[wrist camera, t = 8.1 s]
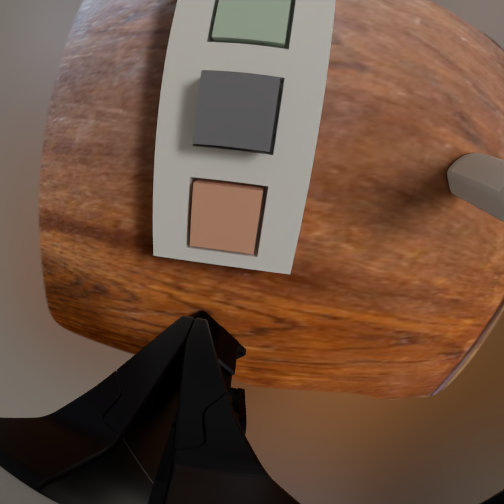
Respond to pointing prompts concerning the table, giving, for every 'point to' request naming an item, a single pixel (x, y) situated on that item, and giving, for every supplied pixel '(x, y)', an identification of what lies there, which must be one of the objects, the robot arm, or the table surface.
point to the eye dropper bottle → (479, 182)
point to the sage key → (252, 22)
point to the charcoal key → (236, 110)
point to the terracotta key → (225, 215)
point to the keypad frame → (239, 159)
